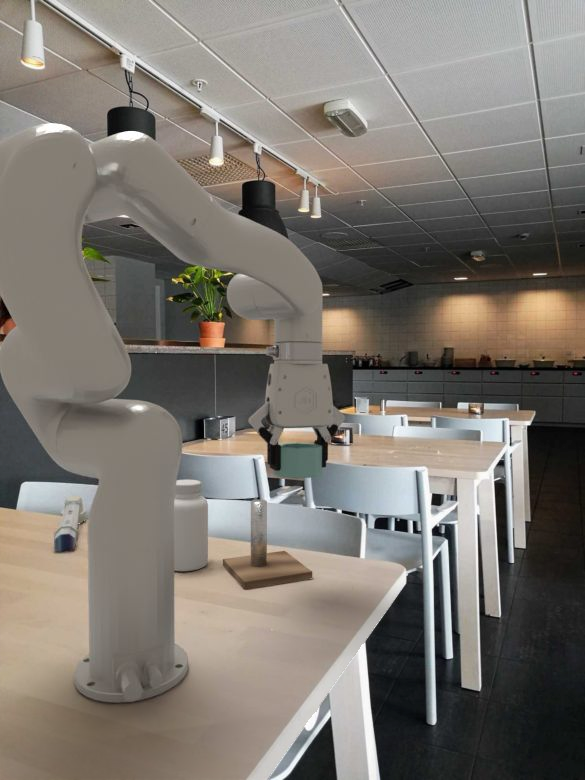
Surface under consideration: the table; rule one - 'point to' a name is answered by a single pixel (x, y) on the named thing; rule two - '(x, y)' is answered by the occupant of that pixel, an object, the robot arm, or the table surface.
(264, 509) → the grey metal peg
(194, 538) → the pill bottle
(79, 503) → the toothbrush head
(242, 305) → the robot arm
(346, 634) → the table surface
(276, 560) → the board
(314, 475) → the ring
